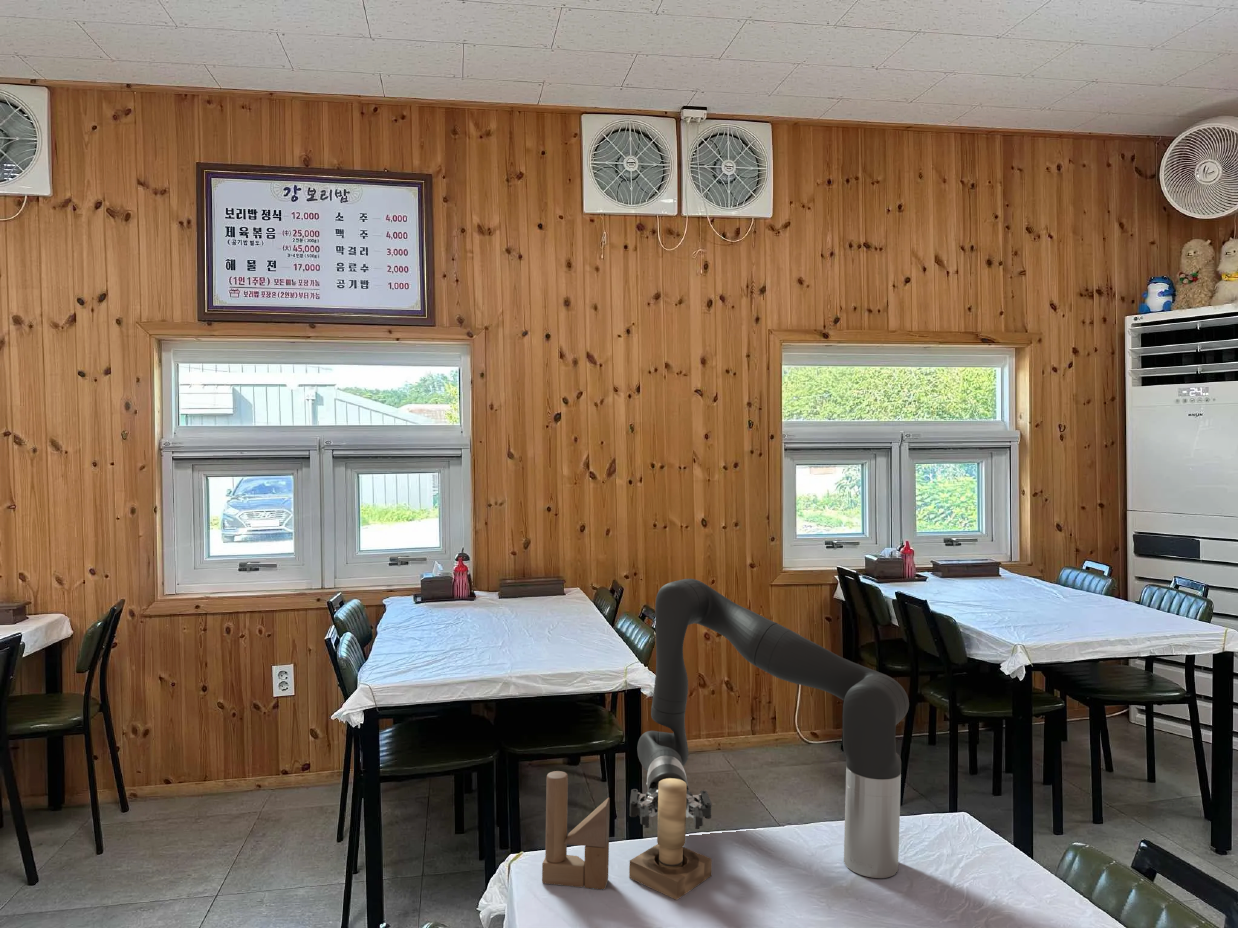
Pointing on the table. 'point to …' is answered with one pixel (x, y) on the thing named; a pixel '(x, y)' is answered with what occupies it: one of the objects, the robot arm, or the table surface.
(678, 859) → the oak leg
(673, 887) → the square wooden ring
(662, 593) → the robot arm
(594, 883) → the wooden block
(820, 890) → the table surface
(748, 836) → the table surface
